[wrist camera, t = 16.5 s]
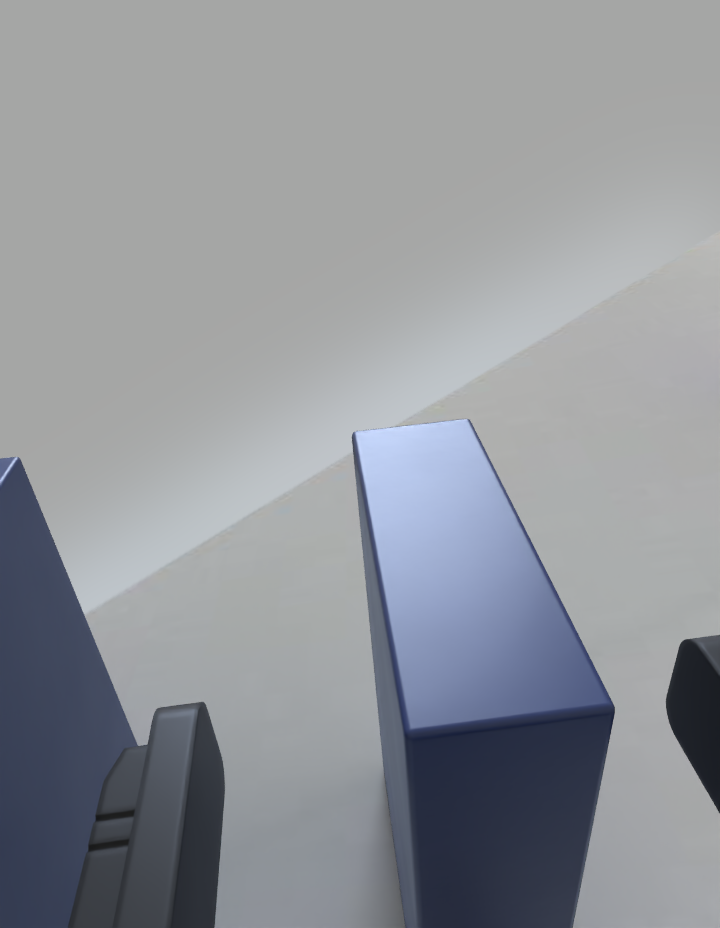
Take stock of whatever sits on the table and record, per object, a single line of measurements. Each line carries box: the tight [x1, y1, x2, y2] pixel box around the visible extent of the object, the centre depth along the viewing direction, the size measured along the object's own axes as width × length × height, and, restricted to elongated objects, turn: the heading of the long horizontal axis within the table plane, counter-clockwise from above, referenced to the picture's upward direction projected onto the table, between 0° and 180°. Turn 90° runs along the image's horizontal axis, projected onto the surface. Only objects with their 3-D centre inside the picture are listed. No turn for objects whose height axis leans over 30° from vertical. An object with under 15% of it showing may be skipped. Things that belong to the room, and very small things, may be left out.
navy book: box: [352, 419, 615, 928], centre depth 13 cm, size 7×2×11 cm, turn 5°
